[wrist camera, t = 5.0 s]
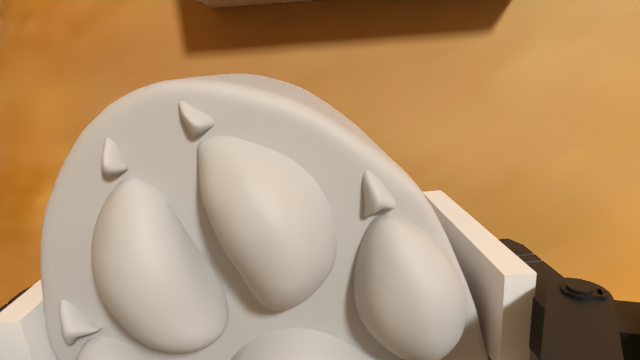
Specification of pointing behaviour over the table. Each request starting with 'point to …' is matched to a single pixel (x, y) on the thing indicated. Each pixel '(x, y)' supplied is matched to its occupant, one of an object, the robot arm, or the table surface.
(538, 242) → the table surface
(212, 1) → the charcoal tray
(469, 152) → the table surface
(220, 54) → the table surface
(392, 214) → the lumpy-topped squat cylinder
